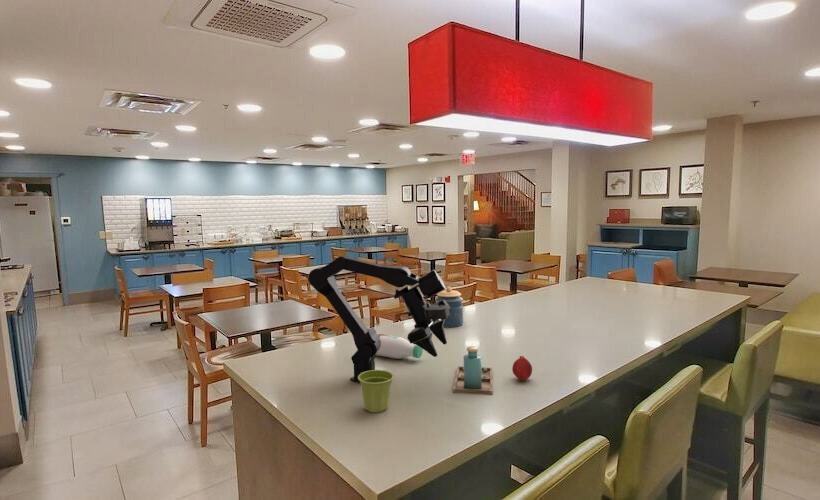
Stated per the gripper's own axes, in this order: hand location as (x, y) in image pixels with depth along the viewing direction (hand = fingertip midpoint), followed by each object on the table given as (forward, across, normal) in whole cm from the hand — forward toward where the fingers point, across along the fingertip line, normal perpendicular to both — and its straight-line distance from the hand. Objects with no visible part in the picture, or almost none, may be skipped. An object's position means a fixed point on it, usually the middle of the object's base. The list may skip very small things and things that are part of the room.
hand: (440, 349), depth 133 cm
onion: (+20, +8, -15) cm, 27 cm away
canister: (+8, +67, +25) cm, 72 cm away
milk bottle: (-8, +17, +33) cm, 38 cm away
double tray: (+13, +2, -4) cm, 14 cm away
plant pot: (+2, -24, +13) cm, 27 cm away
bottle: (+13, -3, -5) cm, 14 cm away
